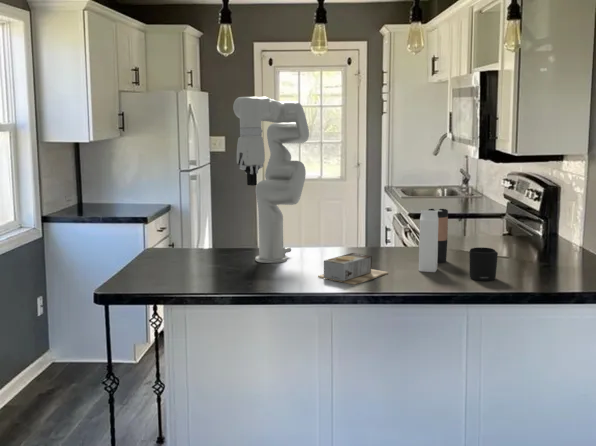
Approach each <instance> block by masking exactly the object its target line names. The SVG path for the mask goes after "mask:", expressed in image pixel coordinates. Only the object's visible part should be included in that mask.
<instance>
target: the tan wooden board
mask: <svg viewBox="0 0 596 446" xmlns="http://www.w3.org/2000/svg"><path fill="white" fill-rule="evenodd" d="M388 274H389V271H385V270H378V269H372V268H371V273H368V274H365V275H362V276H358V277H355V278H352V279H348V280H345V281H340V280H335V279H330V278H325V277H324V273H323V274H320V275H318V276H317V278H318V277H320V278H319V279H323V278H325V279H324V280H328V279H329V280H328V281H333V280H334V281H335V282H340V283H344V284H349V285H354V286H355V285H356V286H357V285H359V284H362V283H364V282H368V281H371V280H373V279H376V278H380V277H383V276H386V275H388Z"/></svg>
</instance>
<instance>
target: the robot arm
mask: <svg viewBox="0 0 596 446" xmlns="http://www.w3.org/2000/svg"><path fill="white" fill-rule="evenodd" d="M232 108H233V112H234V115H235V117H236V118H238V119H239V136H240V137H238V139H237V145H236V164H237V165H238V166H239V170H243V171H244V173H245V174H246V184H247V186H252V187H254V186H255V196H256V203H257V209H258V210H257V211H258V250H259V251H258V254H259V255H256V256H255V261H256V262H258V263H263V264H279V263H285V262H286V261H288V256H287V255H286V254H287V253H291V252H292V248H291V247H290V246H289V247H285V246H284V216H283V212H282V211H281V209H280V207H279V206H282V205H284V206H286V205H287V206H292V205H293V206H294V205H297V204H298V203H299V201H300V199H301V196H302V193H303V189H304V185H305V180H306V174H307V172H306V166H305V164H304V163H303V162H302V161H300V160H292V154H291V152H290V150H289V149H288V148H287V147H286V146H285V145H283V144H304V143H306V142H307V141H308V140H309V137H310V130H309V125H308V122H307V117H306V114H305V113H306V112H305V111H304V108H303V105H302V104H301V103H300V102H299V101H296V100H294V101H293V100H291V101H290V100H287V101H284V100H283V101H280V100H275V99H273V98H272V99H271V98H270V97H267V96H239V97H237V98H235V100H234V102H233V107H232ZM262 122H269V123H271V124H270V125H268V127H267V129H266V138H267V144H268V148H269V152H270V156H269V158H268V161H267V166H266V169H265V173H264V176H265V179H264V180H260V181H258V179H257V178H258V176H257V175H258V173H259V171H260V169H262V168H263V167H264V164H265V160H266V159H265V157H266V156H265V155H266V154H265V143H264V138H263V136H262V133H263V128H262ZM257 181H258V182H257Z"/></svg>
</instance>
